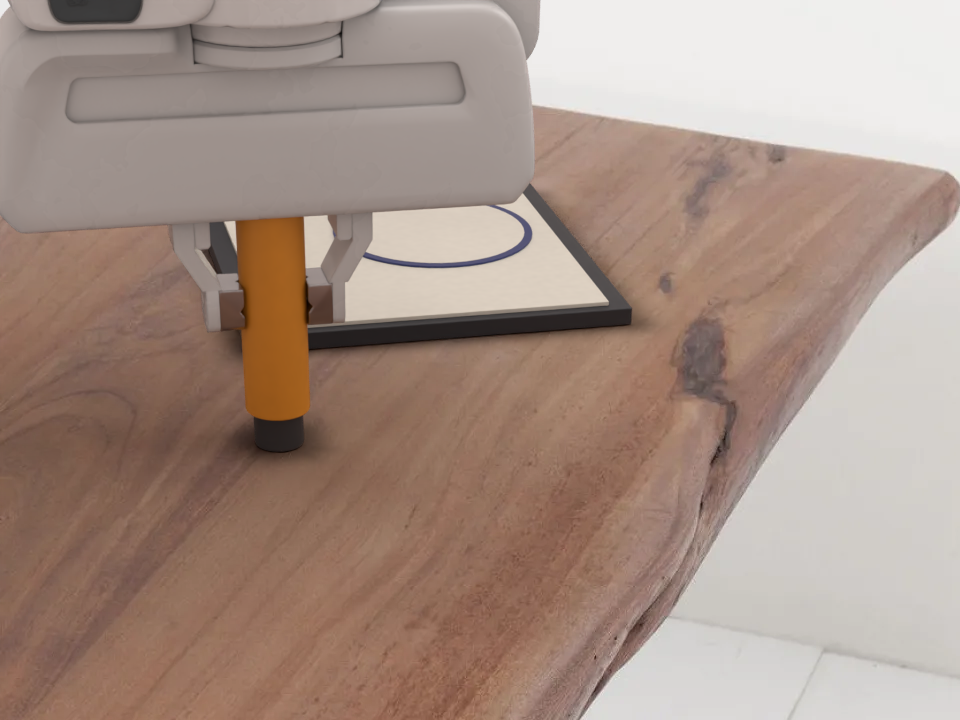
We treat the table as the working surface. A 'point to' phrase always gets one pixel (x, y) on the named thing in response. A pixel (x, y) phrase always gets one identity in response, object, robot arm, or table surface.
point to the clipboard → (460, 287)
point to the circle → (447, 236)
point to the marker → (274, 329)
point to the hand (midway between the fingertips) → (273, 322)
